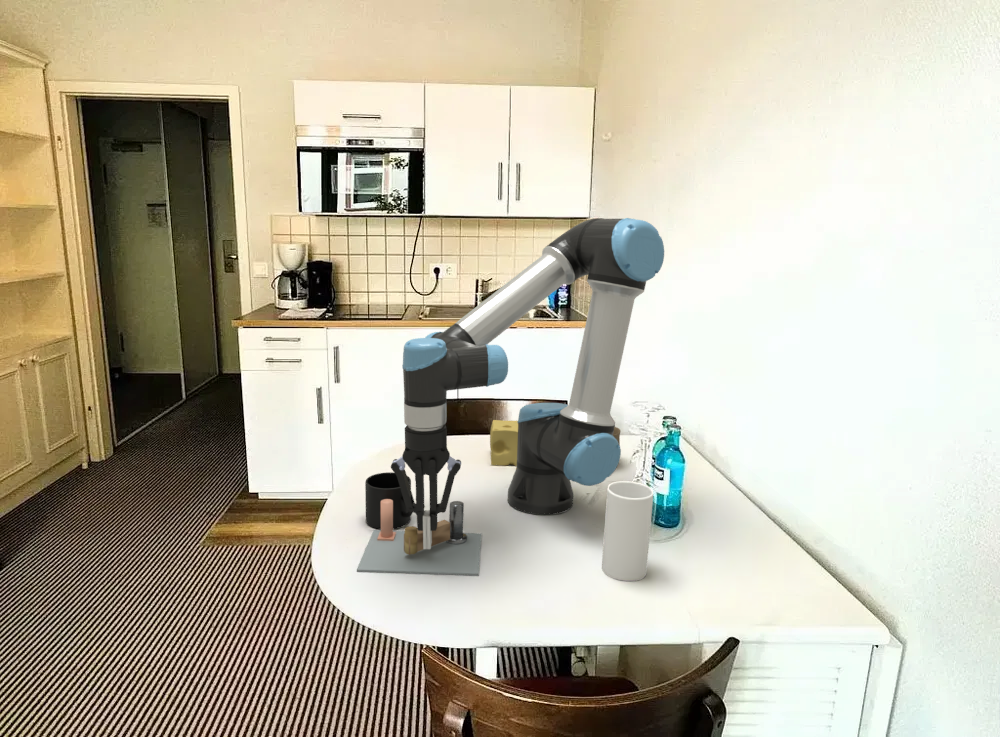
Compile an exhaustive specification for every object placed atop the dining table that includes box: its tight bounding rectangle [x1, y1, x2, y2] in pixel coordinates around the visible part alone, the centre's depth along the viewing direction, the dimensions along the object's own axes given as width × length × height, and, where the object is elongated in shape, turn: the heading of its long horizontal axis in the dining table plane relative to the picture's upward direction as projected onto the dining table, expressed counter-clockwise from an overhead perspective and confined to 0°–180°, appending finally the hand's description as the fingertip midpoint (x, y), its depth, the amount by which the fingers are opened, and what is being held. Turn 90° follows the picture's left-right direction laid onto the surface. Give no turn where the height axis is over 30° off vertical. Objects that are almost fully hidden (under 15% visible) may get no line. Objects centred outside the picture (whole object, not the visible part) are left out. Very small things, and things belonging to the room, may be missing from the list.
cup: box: [601, 480, 654, 582], centre depth 122 cm, size 8×8×16 cm
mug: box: [364, 471, 413, 530], centre depth 139 cm, size 9×12×9 cm
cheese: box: [489, 419, 518, 467], centre depth 179 cm, size 10×11×10 cm
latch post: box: [377, 499, 396, 541], centre depth 132 cm, size 3×3×8 cm
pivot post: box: [446, 500, 467, 545], centre depth 132 cm, size 4×4×8 cm
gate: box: [404, 519, 450, 555], centre depth 127 cm, size 10×2×4 cm, turn 133°
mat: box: [356, 529, 482, 577], centre depth 128 cm, size 22×16×1 cm
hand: (427, 545), depth 124 cm, fingers closed
